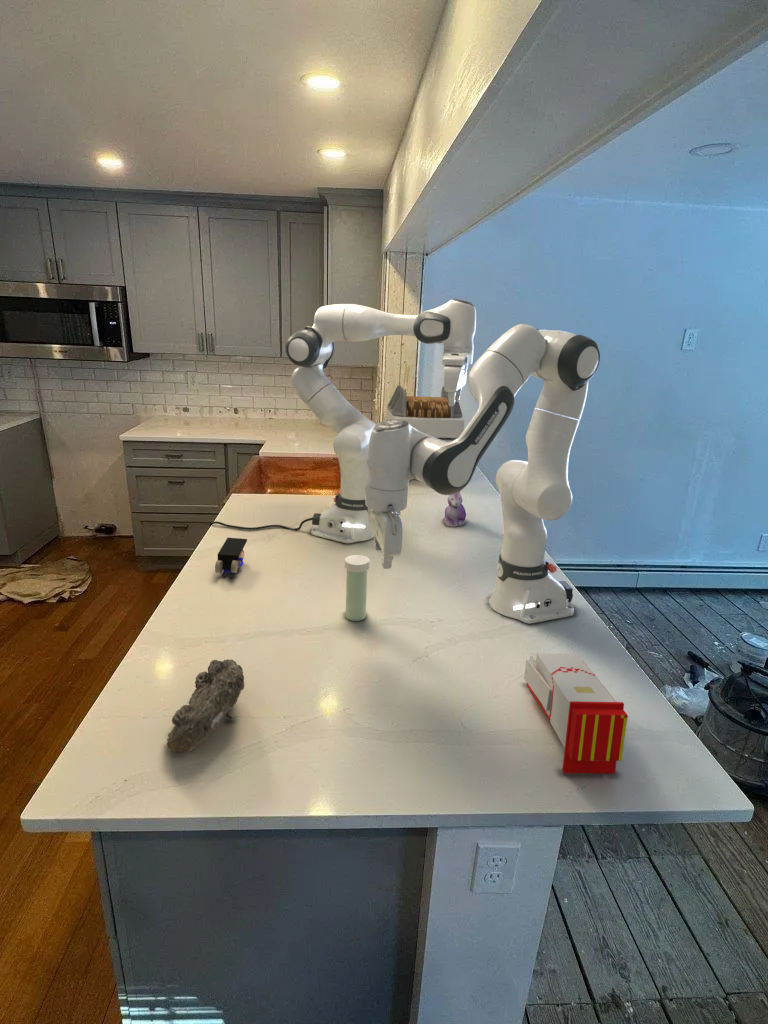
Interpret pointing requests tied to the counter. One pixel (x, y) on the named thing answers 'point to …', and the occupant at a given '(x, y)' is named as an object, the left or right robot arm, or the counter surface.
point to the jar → (356, 595)
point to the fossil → (206, 705)
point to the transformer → (427, 414)
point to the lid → (357, 563)
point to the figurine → (455, 511)
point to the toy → (578, 711)
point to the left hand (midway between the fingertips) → (454, 403)
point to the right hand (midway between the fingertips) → (382, 558)
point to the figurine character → (230, 556)
